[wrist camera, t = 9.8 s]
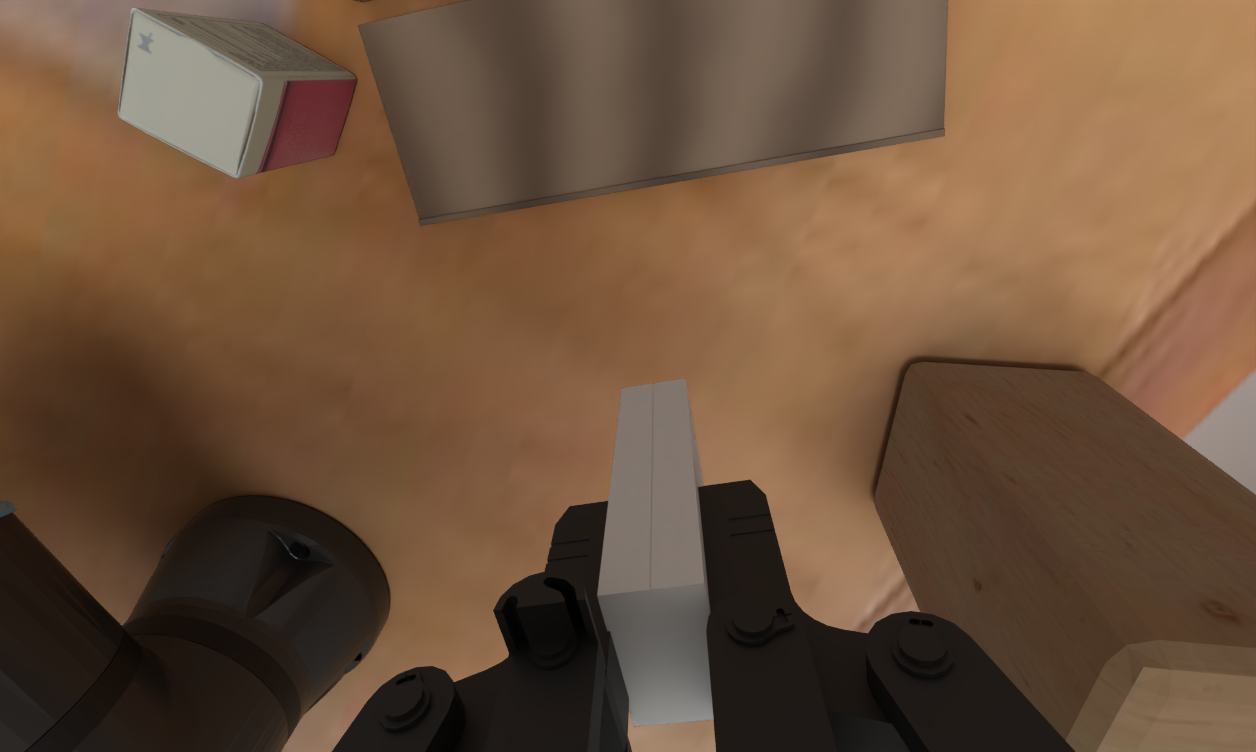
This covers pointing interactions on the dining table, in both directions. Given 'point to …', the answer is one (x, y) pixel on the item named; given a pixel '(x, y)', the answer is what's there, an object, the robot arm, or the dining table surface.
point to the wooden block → (1078, 553)
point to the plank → (644, 92)
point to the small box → (231, 92)
